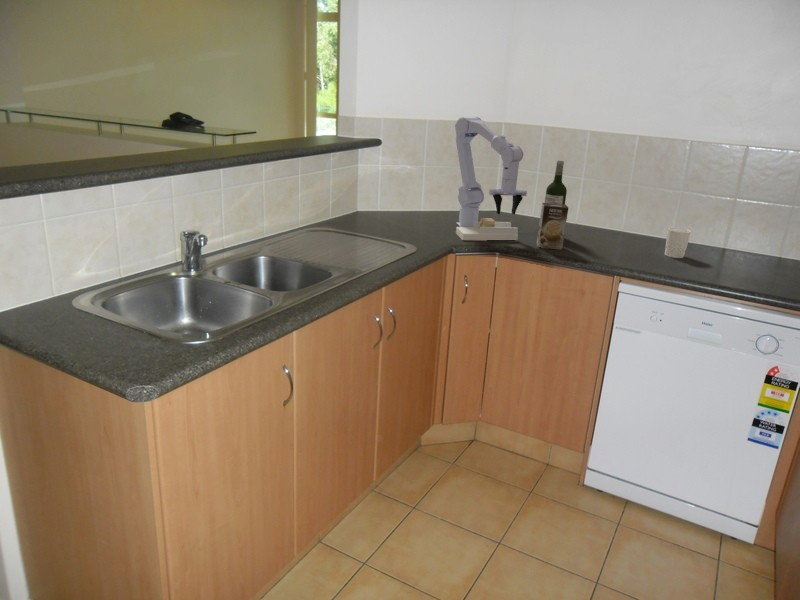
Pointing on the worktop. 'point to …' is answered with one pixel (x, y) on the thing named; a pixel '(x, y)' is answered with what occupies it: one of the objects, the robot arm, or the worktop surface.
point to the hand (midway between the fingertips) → (505, 213)
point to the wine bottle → (556, 187)
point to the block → (487, 222)
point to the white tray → (488, 232)
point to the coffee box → (552, 226)
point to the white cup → (676, 242)
